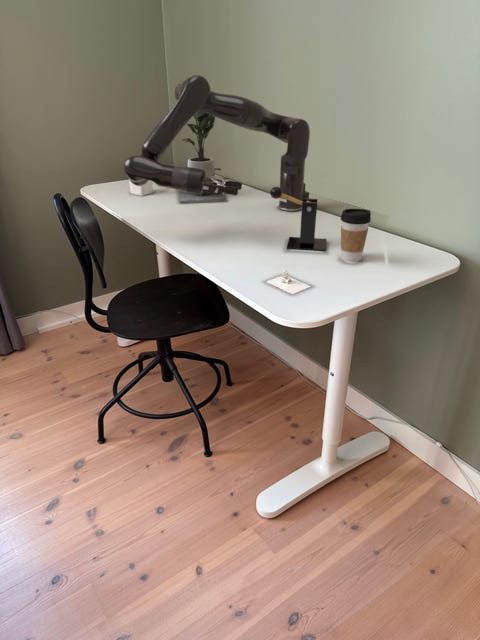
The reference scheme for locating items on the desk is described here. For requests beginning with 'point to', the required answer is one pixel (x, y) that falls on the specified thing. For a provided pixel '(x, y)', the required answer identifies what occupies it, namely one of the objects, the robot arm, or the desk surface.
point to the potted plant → (201, 160)
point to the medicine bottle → (141, 188)
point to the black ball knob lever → (283, 195)
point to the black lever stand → (307, 230)
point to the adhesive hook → (288, 283)
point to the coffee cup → (354, 233)
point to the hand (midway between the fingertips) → (239, 189)
